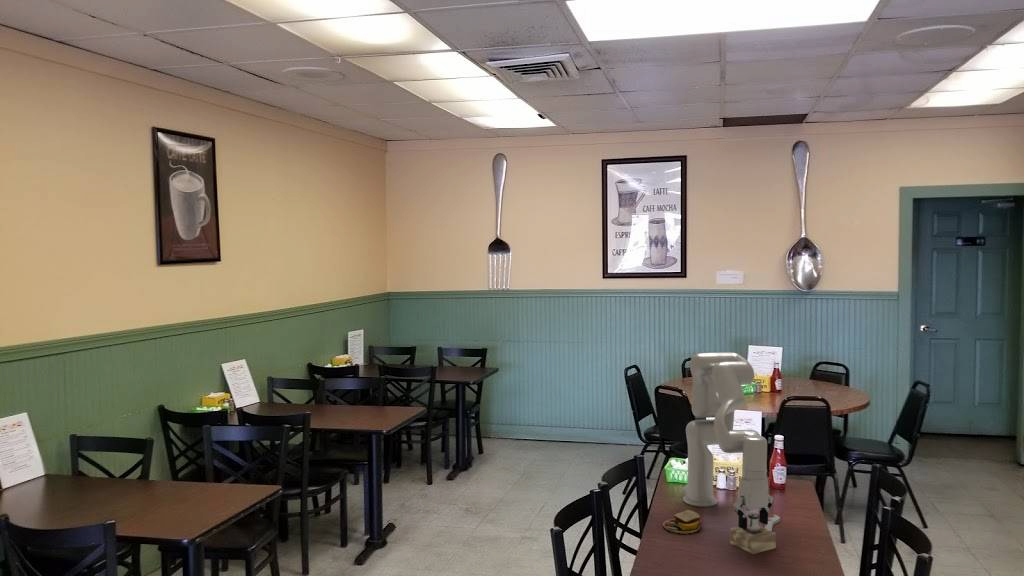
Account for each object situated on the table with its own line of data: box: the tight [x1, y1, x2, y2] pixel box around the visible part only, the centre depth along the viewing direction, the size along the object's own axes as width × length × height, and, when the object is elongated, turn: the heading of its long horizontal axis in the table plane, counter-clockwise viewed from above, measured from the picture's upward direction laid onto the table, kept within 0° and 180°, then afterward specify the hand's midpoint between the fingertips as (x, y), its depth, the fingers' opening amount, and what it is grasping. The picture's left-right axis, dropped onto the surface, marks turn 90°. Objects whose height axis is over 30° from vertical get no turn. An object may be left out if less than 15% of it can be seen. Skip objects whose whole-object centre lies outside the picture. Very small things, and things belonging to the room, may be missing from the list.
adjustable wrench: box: [764, 514, 781, 532], centre depth 263 cm, size 25×6×2 cm, turn 153°
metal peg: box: [747, 512, 760, 535], centre depth 248 cm, size 3×3×10 cm
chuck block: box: [729, 523, 777, 555], centre depth 248 cm, size 10×10×5 cm
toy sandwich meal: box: [662, 509, 702, 535], centre depth 264 cm, size 12×14×5 cm
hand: (753, 525), depth 248 cm, fingers open, 9 cm apart
